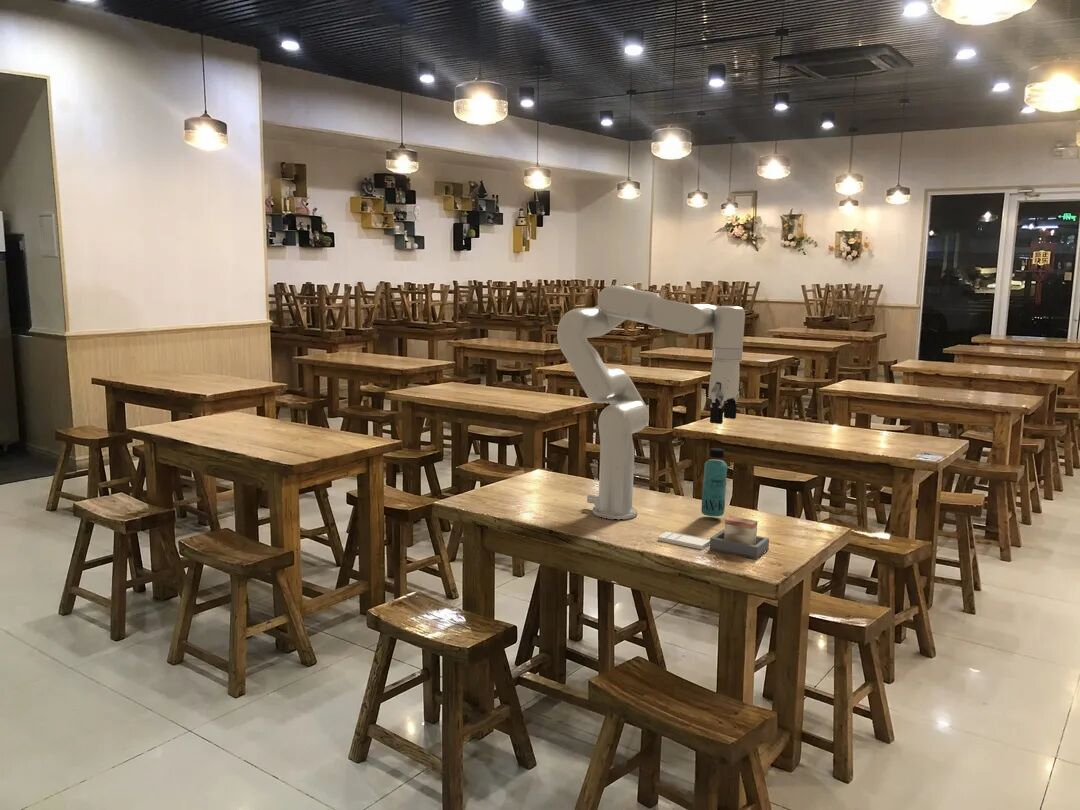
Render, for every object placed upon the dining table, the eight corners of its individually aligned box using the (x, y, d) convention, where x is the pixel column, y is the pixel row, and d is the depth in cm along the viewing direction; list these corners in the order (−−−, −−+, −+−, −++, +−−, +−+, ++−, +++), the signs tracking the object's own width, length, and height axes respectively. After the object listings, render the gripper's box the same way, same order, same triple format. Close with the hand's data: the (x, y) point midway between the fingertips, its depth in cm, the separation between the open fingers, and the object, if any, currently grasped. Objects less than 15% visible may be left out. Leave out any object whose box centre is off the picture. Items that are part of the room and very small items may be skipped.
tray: (709, 549, 212) (710, 538, 212) (722, 540, 220) (723, 529, 219) (756, 559, 206) (757, 547, 205) (768, 549, 213) (769, 538, 213)
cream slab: (657, 540, 218) (658, 536, 218) (667, 534, 223) (667, 530, 223) (702, 549, 212) (702, 545, 212) (711, 543, 217) (711, 539, 217)
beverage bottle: (696, 516, 241) (700, 446, 238) (716, 514, 243) (720, 445, 240) (708, 522, 235) (712, 451, 232) (729, 520, 237) (733, 450, 234)
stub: (723, 546, 213) (725, 519, 212) (728, 542, 216) (730, 516, 215) (750, 552, 209) (752, 524, 208) (755, 548, 212) (757, 521, 211)
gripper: (725, 351, 227) (721, 414, 230) (700, 355, 212) (696, 423, 215) (752, 353, 223) (748, 418, 226) (729, 358, 209) (725, 427, 211)
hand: (723, 420), depth 220 cm, fingers open, 9 cm apart
